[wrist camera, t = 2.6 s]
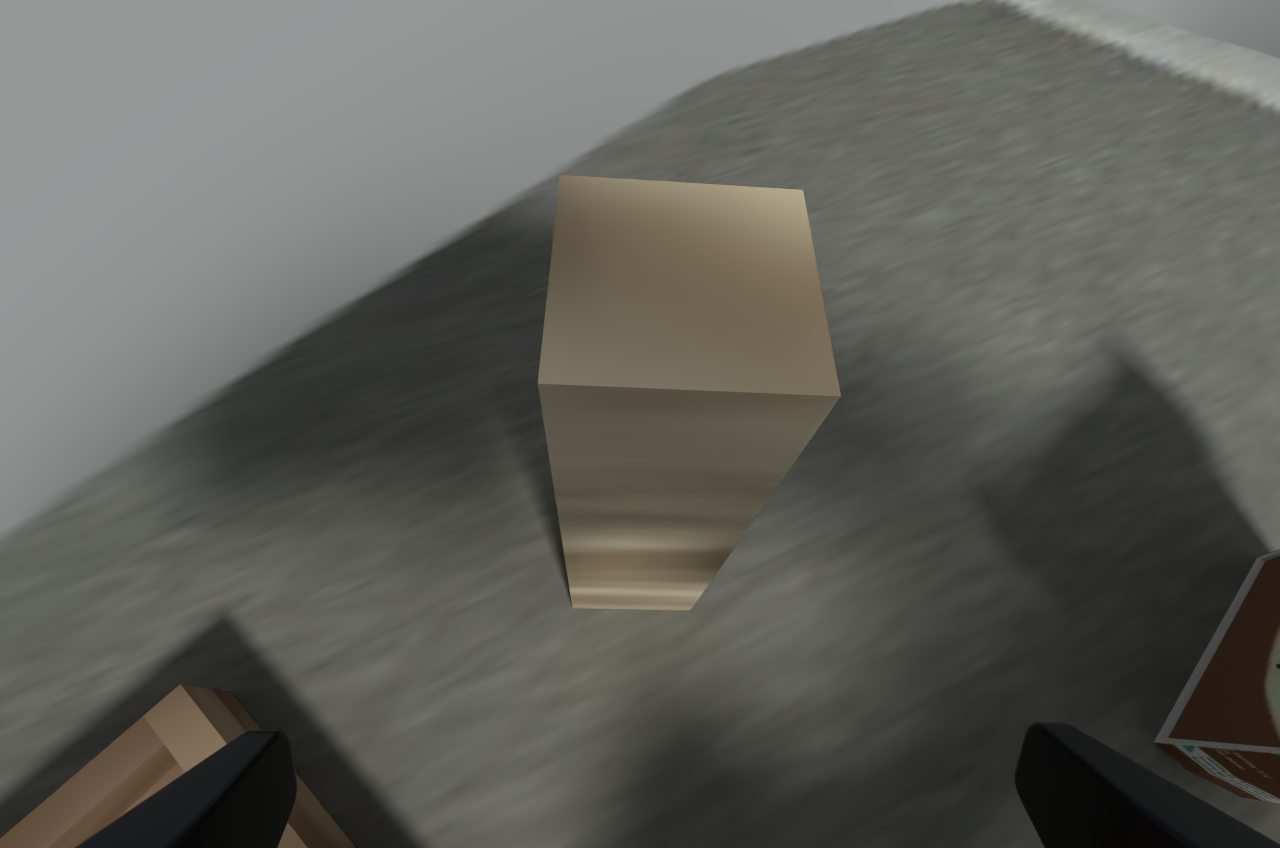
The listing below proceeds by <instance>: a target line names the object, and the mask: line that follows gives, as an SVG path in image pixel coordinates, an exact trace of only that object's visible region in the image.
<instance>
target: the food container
mask: <svg viewBox="0 0 1280 848" xmlns="http://www.w3.org/2000/svg"><path fill="white" fill-rule="evenodd" d="M1153 743H1155V744H1156V745H1157V746H1158V747H1160V748H1161V749H1162V750H1163V751H1165V752H1166V753H1167V754H1169V755H1170V756H1171V757H1172V758H1174V759H1175V760H1176V761H1177V762H1179V763H1180V764H1181V765H1182V766H1184V767H1185V768H1186V769H1187V770H1189V771H1190V772H1192V773H1194V774H1196V775H1198V776H1200V777H1202V778H1204V779H1206V780H1208V781H1210V782H1212V783H1214V784H1216V785H1218V786H1220V787H1222V788H1224V789H1226V790H1228V791H1230V792H1232V793H1234V794H1236V795H1238V796H1240V797H1244V798H1250V799H1255V800H1260V801H1265V802H1271V803H1276V804H1280V550H1277V551H1274V552H1271V553H1268V554H1265V555H1262V556H1259V557H1257V559H1256V560H1255V562H1254V564H1253V566H1252V568H1251V569H1250V571H1249V573H1248V575H1247V576H1246V578H1245V580H1244V582H1243V584H1242V585H1241V587H1240V589H1239V591H1238V592H1237V594H1236V596H1235V598H1234V600H1233V601H1232V603H1231V605H1230V607H1229V609H1228V610H1227V612H1226V614H1225V616H1224V617H1223V619H1222V621H1221V623H1220V625H1219V626H1218V628H1217V630H1216V632H1215V634H1214V635H1213V637H1212V639H1211V641H1210V642H1209V644H1208V646H1207V648H1206V650H1205V651H1204V653H1203V655H1202V657H1201V658H1200V660H1199V662H1198V664H1197V666H1196V667H1195V669H1194V671H1193V673H1192V675H1191V676H1190V678H1189V680H1188V682H1187V683H1186V685H1185V687H1184V689H1183V691H1182V692H1181V694H1180V696H1179V698H1178V700H1177V701H1176V703H1175V705H1174V707H1173V708H1172V710H1171V712H1170V714H1169V716H1168V717H1167V719H1166V721H1165V723H1164V725H1163V726H1162V728H1161V730H1160V732H1159V733H1158V735H1157V737H1156V739H1155V741H1154V742H1153Z"/></svg>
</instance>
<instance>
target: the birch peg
mask: <svg viewBox="0 0 1280 848" xmlns="http://www.w3.org/2000/svg"><path fill="white" fill-rule="evenodd" d="M538 389H539V396H540V402H541V409H542V415H543V421H544V428H545V434H546V441H547V447H548V454H549V460H550V467H551V473H552V479H553V486H554V492H555V499H556V505H557V512H558V518H559V525H560V531H561V537H562V544H563V550H564V557H565V563H566V570H567V576H568V583H569V589H570V596H571V602H572V608H595V609H644V610H691V609H692V607H693V606H694V604H695V603H696V602H697V600H698V599H699V597H700V596H701V595H702V593H703V592H704V590H705V589H706V587H707V586H708V585H709V583H710V582H711V580H712V579H713V577H714V576H715V575H716V573H717V572H718V570H719V569H720V568H721V566H722V565H723V563H724V562H725V560H726V559H727V558H728V556H729V555H730V553H731V552H732V550H733V549H734V548H735V546H736V545H737V543H738V542H739V541H740V539H741V538H742V536H743V535H744V533H745V532H746V531H747V529H748V528H749V526H750V525H751V523H752V522H753V521H754V519H755V518H756V516H757V515H758V514H759V512H760V511H761V509H762V508H763V506H764V505H765V504H766V502H767V501H768V499H769V498H770V497H771V495H772V494H773V492H774V491H775V489H776V488H777V487H778V485H779V484H780V482H781V481H782V479H783V478H784V477H785V475H786V474H787V472H788V471H789V470H790V468H791V467H792V465H793V464H794V462H795V461H796V460H797V458H798V457H799V455H800V454H801V452H802V451H803V450H804V448H805V447H806V445H807V444H808V443H809V441H810V440H811V438H812V437H813V435H814V434H815V433H816V431H817V430H818V428H819V427H820V425H821V424H822V423H823V421H824V420H825V418H826V417H827V416H828V414H829V413H830V411H831V410H832V408H833V407H834V406H835V404H836V403H837V401H838V400H839V399H840V397H841V393H840V388H839V382H838V377H837V372H836V366H835V361H834V355H833V350H832V345H831V339H830V334H829V328H828V323H827V318H826V312H825V307H824V302H823V296H822V291H821V285H820V280H819V275H818V269H817V264H816V258H815V253H814V248H813V242H812V237H811V231H810V226H809V221H808V215H807V210H806V205H805V199H804V194H803V190H794V189H778V188H762V187H746V186H730V185H714V184H698V183H682V182H665V181H649V180H633V179H617V178H601V177H585V176H569V175H560V179H559V188H558V197H557V207H556V216H555V225H554V235H553V244H552V254H551V263H550V272H549V282H548V291H547V300H546V310H545V319H544V329H543V338H542V347H541V357H540V366H539V375H538Z"/></svg>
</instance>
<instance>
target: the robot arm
mask: <svg viewBox="0 0 1280 848" xmlns="http://www.w3.org/2000/svg"><path fill="white" fill-rule="evenodd" d="M1015 784H1016V789H1017V792H1018V795H1019V797H1020V799H1021V801H1022V803H1023V805H1024V807H1025V809H1026V811H1027V813H1028V815H1029V817H1030V819H1031V821H1032V823H1033V825H1034V827H1035V829H1036V831H1037V833H1038V835H1039V837H1040V839H1041V841H1042V843H1043V845H1044V847H1045V848H1280V844H1278V843H1276V842H1275V841H1273V840H1271V839H1269V838H1268V837H1266V836H1264V835H1262V834H1261V833H1259V832H1257V831H1255V830H1254V829H1252V828H1250V827H1248V826H1247V825H1245V824H1243V823H1241V822H1239V821H1238V820H1236V819H1234V818H1232V817H1231V816H1229V815H1227V814H1225V813H1224V812H1222V811H1220V810H1218V809H1217V808H1215V807H1213V806H1211V805H1210V804H1208V803H1206V802H1204V801H1203V800H1201V799H1199V798H1197V797H1196V796H1194V795H1192V794H1190V793H1189V792H1187V791H1185V790H1183V789H1182V788H1180V787H1178V786H1176V785H1175V784H1173V783H1171V782H1169V781H1168V780H1166V779H1164V778H1162V777H1160V776H1159V775H1157V774H1155V773H1153V772H1152V771H1150V770H1148V769H1146V768H1145V767H1143V766H1141V765H1139V764H1138V763H1136V762H1134V761H1132V760H1131V759H1129V758H1127V757H1125V756H1124V755H1122V754H1120V753H1118V752H1117V751H1115V750H1113V749H1111V748H1110V747H1108V746H1106V745H1104V744H1103V743H1101V742H1099V741H1097V740H1096V739H1094V738H1092V737H1090V736H1088V735H1087V734H1085V733H1083V732H1081V731H1080V730H1078V729H1076V728H1074V727H1073V726H1071V725H1068V724H1065V723H1060V722H1054V723H1034V724H1031V725H1030V726H1029V727H1028V728H1027V730H1026V733H1025V736H1024V740H1023V744H1022V748H1021V751H1020V755H1019V759H1018V763H1017V767H1016V770H1015ZM296 795H297V778H296V772H295V765H294V759H293V753H292V747H291V741H290V737H289V735H288V733H287V732H286V731H284V730H280V729H268V730H250V731H247V732H245V733H243V734H241V735H240V736H238V737H237V738H235V739H234V740H232V741H231V742H229V743H228V744H226V745H225V746H223V747H222V748H221V749H219V750H218V751H216V752H215V753H213V754H212V755H210V756H209V757H207V758H206V759H204V760H203V761H201V762H200V763H198V764H197V765H195V766H194V767H193V768H191V769H190V770H188V771H187V772H185V773H184V774H182V775H181V776H179V777H178V778H176V779H175V780H173V781H172V782H170V783H169V784H167V785H166V786H165V787H163V788H162V789H160V790H159V791H157V792H156V793H154V794H153V795H151V796H150V797H148V798H147V799H145V800H144V801H142V802H141V803H140V804H138V805H137V806H135V807H134V808H132V809H131V810H129V811H128V812H126V813H125V814H123V815H122V816H120V817H119V818H117V819H116V820H114V821H113V822H112V823H110V824H109V825H107V826H106V827H104V828H103V829H101V830H100V831H98V832H97V833H95V834H94V835H92V836H91V837H89V838H88V839H86V840H85V841H84V842H82V843H81V844H79V845H78V846H76V847H75V848H278V846H279V843H280V840H281V838H282V835H283V833H284V830H285V828H286V825H287V823H288V820H289V818H290V815H291V813H292V810H293V807H294V804H295V800H296Z"/></svg>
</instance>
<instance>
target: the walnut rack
mask: <svg viewBox="0 0 1280 848" xmlns="http://www.w3.org/2000/svg"><path fill="white" fill-rule="evenodd" d="M250 730H261V729H260V728H259V726H258V725H257V724H256V723H255V721H254V720H253V719H252V718H251V716H250V715H249V714H248V713H247V711H246V710H245V709H244V708H243V706H242V705H241V704H240V703H239V702H238V700H237V699H236V698H235V697H234V695H233V694H232V693H231V692H228V691H222V690H215V689H209V688H202V687H196V686H189V685H183V684H180V685H179V686H178V687H176V688H175V689H174V690H173V691H172V692H171V693H169V694H168V695H167V696H166V697H165V698H164V699H162V700H161V701H160V702H159V703H158V704H157V705H155V706H154V707H153V708H152V709H151V710H150V711H148V712H147V713H146V714H145V715H144V716H143V717H141V718H140V719H139V720H138V721H137V722H136V723H134V724H133V725H132V726H131V727H130V728H129V729H127V730H126V731H125V732H124V733H123V734H122V735H120V736H119V737H118V738H117V739H116V740H115V741H113V742H112V743H111V744H110V745H109V746H108V747H106V748H105V749H104V750H103V751H102V752H101V753H99V754H98V755H97V756H96V757H95V758H94V759H92V760H91V761H90V762H89V763H88V764H87V765H85V766H84V767H83V768H82V769H81V770H80V771H78V772H77V773H76V774H75V775H74V776H73V777H71V778H70V779H69V780H68V781H67V782H66V783H64V784H63V785H62V786H61V787H60V788H59V789H57V790H56V791H55V792H54V793H53V794H52V795H50V796H49V797H48V798H47V799H46V800H45V801H43V802H42V803H41V804H40V805H39V806H38V807H36V808H35V809H34V810H33V811H32V812H31V813H29V814H28V815H27V816H26V817H25V818H24V819H22V820H21V821H20V822H19V823H18V824H17V825H15V826H14V827H13V828H12V829H11V830H10V831H8V832H7V833H6V834H5V835H4V836H3V837H1V838H0V848H75V847H76V846H78V845H79V844H81V843H82V842H84V841H85V840H86V839H88V838H89V837H91V836H92V835H94V834H95V833H97V832H98V831H100V830H101V829H103V828H104V827H106V826H107V825H109V824H110V823H112V822H113V821H114V820H116V819H117V818H119V817H120V816H122V815H123V814H125V813H126V812H128V811H129V810H131V809H132V808H134V807H135V806H137V805H138V804H140V803H141V802H142V801H144V800H145V799H147V798H148V797H150V796H151V795H153V794H154V793H156V792H157V791H159V790H160V789H162V788H163V787H165V786H166V785H167V784H169V783H170V782H172V781H173V780H175V779H176V778H178V777H179V776H181V775H182V774H184V773H185V772H187V771H188V770H190V769H191V768H193V767H194V766H195V765H197V764H198V763H200V762H201V761H203V760H204V759H206V758H207V757H209V756H210V755H212V754H213V753H215V752H216V751H218V750H219V749H221V748H222V747H223V746H225V745H226V744H228V743H229V742H231V741H232V740H234V739H235V738H237V737H238V736H240V735H241V734H243V733H245V732H247V731H250ZM296 778H297V795H296V800H295V804H294V807H293V810H292V813H291V815H290V818H289V820H288V823H287V825H286V828H285V830H284V833H283V835H282V838H281V840H280V843H279V846H278V848H356V847H355V846H354V844H353V843H352V842H351V841H350V839H349V838H348V837H347V836H346V834H345V833H344V832H343V831H342V829H341V828H340V827H339V826H338V824H337V823H336V822H335V821H334V819H333V818H332V817H331V816H330V814H329V813H328V812H327V811H326V810H325V808H324V807H323V806H322V805H321V803H320V802H319V801H318V800H317V798H316V797H315V796H314V795H313V793H312V792H311V791H310V790H309V788H308V787H307V786H306V785H305V783H304V782H303V781H302V780H301V778H300V777H299V776H298V775H297V774H296Z"/></svg>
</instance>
